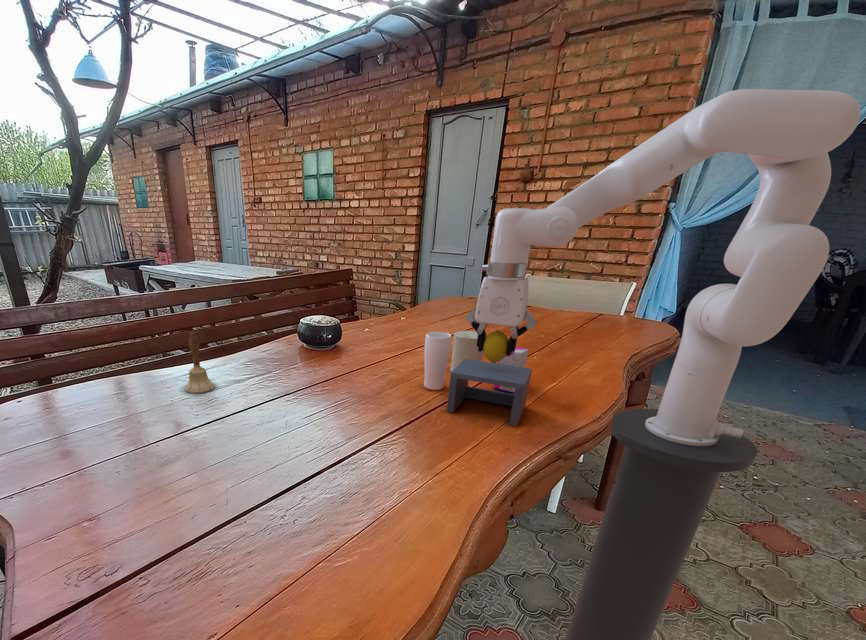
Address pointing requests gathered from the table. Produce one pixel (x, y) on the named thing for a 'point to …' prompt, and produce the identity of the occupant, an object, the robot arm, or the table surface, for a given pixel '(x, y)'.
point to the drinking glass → (436, 359)
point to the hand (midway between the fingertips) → (495, 351)
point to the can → (465, 348)
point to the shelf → (491, 375)
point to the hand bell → (197, 370)
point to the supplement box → (515, 359)
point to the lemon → (495, 346)
